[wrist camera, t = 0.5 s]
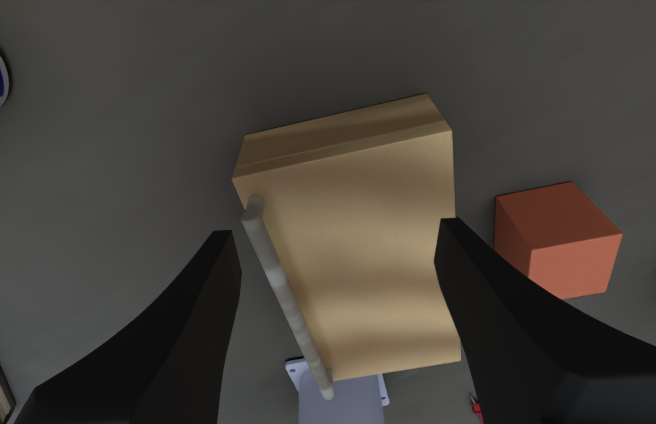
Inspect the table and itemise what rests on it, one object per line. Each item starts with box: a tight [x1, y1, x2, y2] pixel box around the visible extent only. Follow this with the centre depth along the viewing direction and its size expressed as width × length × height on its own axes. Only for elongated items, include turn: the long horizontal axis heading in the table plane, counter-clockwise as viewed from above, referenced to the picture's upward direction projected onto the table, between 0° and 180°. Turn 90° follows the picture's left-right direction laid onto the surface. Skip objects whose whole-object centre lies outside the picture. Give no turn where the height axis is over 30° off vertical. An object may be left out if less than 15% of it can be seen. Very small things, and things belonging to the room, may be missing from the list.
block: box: [494, 182, 623, 299], centre depth 24 cm, size 5×5×5 cm
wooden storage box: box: [232, 94, 461, 401], centre depth 24 cm, size 18×10×6 cm, turn 13°
